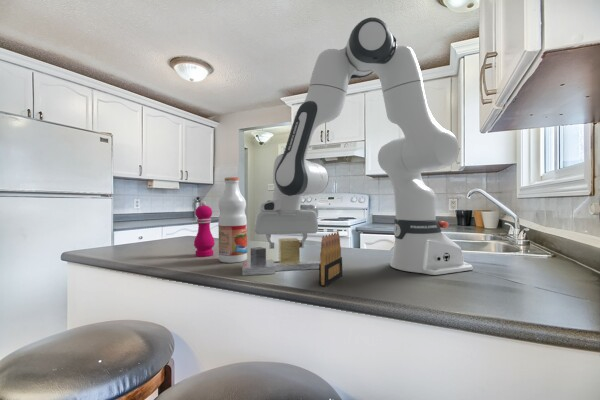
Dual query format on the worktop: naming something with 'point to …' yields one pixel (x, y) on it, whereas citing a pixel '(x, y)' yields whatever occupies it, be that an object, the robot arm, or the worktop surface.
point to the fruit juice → (232, 223)
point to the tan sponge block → (289, 250)
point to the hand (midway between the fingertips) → (286, 248)
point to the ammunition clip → (330, 260)
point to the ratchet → (272, 264)
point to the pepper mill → (204, 231)
